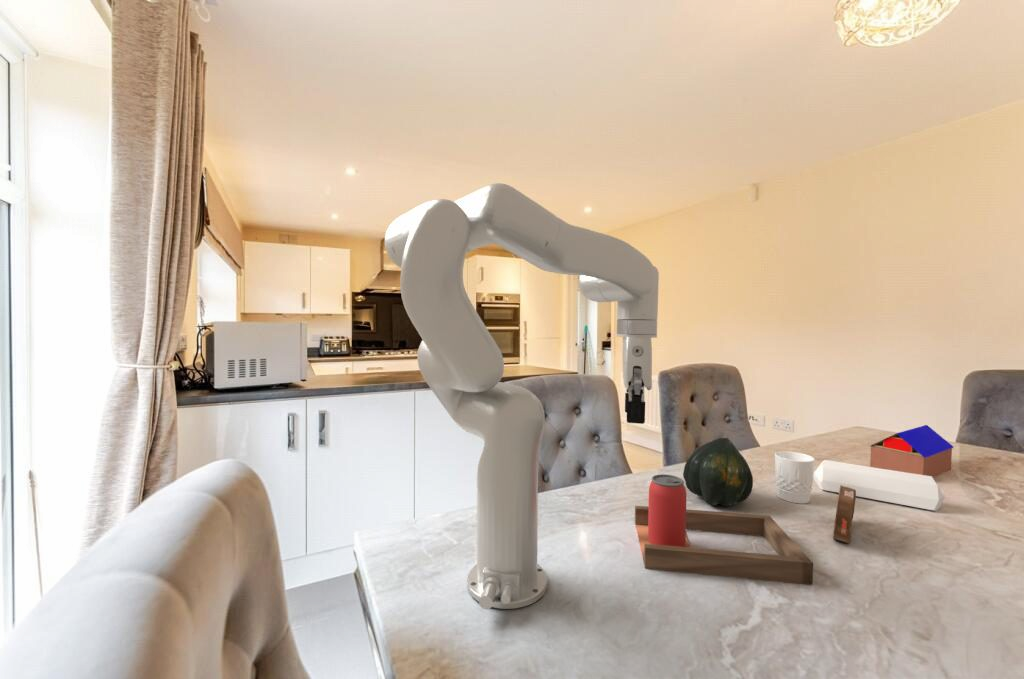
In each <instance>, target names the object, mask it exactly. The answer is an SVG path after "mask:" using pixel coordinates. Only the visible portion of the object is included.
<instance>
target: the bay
mask: <svg viewBox="0 0 1024 679" xmlns="http://www.w3.org/2000/svg"><path fill="white" fill-rule="evenodd" d="M648 509H649V505H648V506H647V505H634V525H636V526H635V529H636V534H638V535H637V539H638V538H639V539H638V543H639V547H641V548H640V552H641V557H642V556H643V557H642V560H643V566H644V565H645V566H644V568H645V569H648V568H651V570H658V569H659V570H658V571H669V572H670V571H671V572H682V573H689V574H690V573H691V574H700V575H709V576H710V575H712V576H720V577H721V576H722V577H732V578H742V579H753V580H761V581H762V580H763V581H771V582H772V581H773V582H780V583H781V582H782V583H792V584H801V585H812V586H813V579H814V575H813V574H814V562H813V561H812V560H811V559H810V558H809V557H808V556H807V555H806V554H805V553H804V551H803V550H802V549H801V548H800V547H799V546H798V545H797V544H796V543H795V541H794V540H792V539H791V537H790V536H789V535H788V533H786V532H785V531H784V530H783V529H782V528H781V526H780V525H779V524H778V523H777V522H776V521H775V520H774V519H773V518H772V517H771V515H768V514H765V515H764V514H754V513H753V514H752V513H740V512H738V513H737V512H726V511H712V510H699V509H687V508H686V529H688V530H687V531H696V530H700V531H699V532H708V531H711V533H720V532H723V534H733V535H734V534H735V535H736V534H737V535H744V536H745V535H748V536H758V537H759V536H760V537H764V538H765V540H766V541H767V543H769V545H770V546H771V547H772V548H773V550H774V551H775V552H776V554H770V553H769V554H767V553H755V552H748V551H747V552H746V551H745V552H744V551H733V550H723V549H710V548H699V547H692V546H691V544H690V542H689V539H688V538H687V536H686V544H685V546H684V547H679V546H668V545H657V544H651V543H650V541H649V539H648ZM689 529H690V530H689Z"/></svg>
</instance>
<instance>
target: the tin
mask: <svg viewBox="0 0 1024 679" xmlns="http://www.w3.org/2000/svg"><path fill="white" fill-rule="evenodd" d="M856 498H857V496H856V490H855V489H852V488H848V487H844V486H842V485H840V490H839V493H838V497H837V502H836V503H837V504H836V512H835V520H834V524H833V526H834V527H833V536H832V539H833V540H836V541H838V542H842V543H846V544H850V543H851V538H852V536H851V535H852V522H853V519H854V514H855V506H856Z"/></svg>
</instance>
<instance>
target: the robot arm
mask: <svg viewBox="0 0 1024 679" xmlns="http://www.w3.org/2000/svg"><path fill="white" fill-rule="evenodd" d="M385 232H386V233H385V235H384V248H385V251H386V254H387V256H388V258H389V259H390V260H391V261H392V262H393V264H395V266H397V267H398V268H400V269H401V270H400V280H399V281H400V283H399V284H400V285H399V286H400V293H401V300H402V304H403V306H404V309H405V312H406V314H407V316H408V317H409V319H410V321H411V323H412V325H413V327H414V328H415V330H416V331H417V333H418V335H419V336H420V337H421V339H422V340H421V342H420V344H419V346H418V350H417V359H416V360H417V364H418V365H417V366H418V368H419V371H420V374H421V376H422V377H423V379H424V382H426V385H428V386H429V389H430V390H431V391H432V392H433V394H434V395H435V396H436V398H437V399H438V401H439V402H440V404H441V405H442V406H443V408H444V409H445V411H446V412H447V413H448V415H449V416H450V417H451V419H452V420H453V422H455V423H456V425H458V426H459V427H460V428H461V429H462V430H464V431H465V432H467V433H469V434H471V435H474V436H476V437H478V438H480V439H482V440H483V441H484V446H483V449H482V452H481V455H480V457H479V460H478V461H479V462H478V464H477V471H476V564H475V565H474V566H473V567H471V569H470V570H469V572H468V574H467V580H466V582H467V583H466V584H467V585H466V586H467V590H468V593H469V595H471V597H472V598H473V599H475V600H476V601H477V602H479V605H480V607H481V608H482V609H484V610H489V609H492V608H494V609H502V610H503V609H504V610H509V609H510V610H512V609H519V608H520V609H521V608H523V607H527V606H529V605H531V604H534V603H536V602H537V601H538V600H539V599H541V598H542V597H543V596H544V595H545V593H546V591H547V589H548V575H547V573H546V570H544V568H543V567H542V566H541V565H540V564H539V563H538V532H539V531H538V522H539V520H538V519H539V518H538V517H539V515H538V514H539V513H538V511H539V510H538V509H539V508H538V507H539V505H538V504H539V503H538V502H539V501H538V499H539V498H538V497H539V495H538V494H539V492H538V491H539V459H540V457H539V456H540V449H541V443H542V440H543V434H544V429H545V423H546V420H545V419H546V417H545V410H544V406H543V404H542V402H541V400H540V399H539V398H538V397H537V396H536V394H534V393H533V392H532V391H531V390H529V389H527V388H525V387H523V386H520V385H516V384H511V383H506V382H502V381H501V379H502V378H503V375H504V371H505V361H504V357H503V354H502V352H501V350H500V348H499V346H498V343H496V341H495V339H494V337H493V336H492V334H491V333H490V332H489V330H488V328H487V326H486V325H485V323H484V322H483V319H482V318H481V316H480V315H479V313H478V312H477V310H476V309H475V307H474V305H473V303H472V302H471V300H470V297H469V295H468V293H467V291H466V289H465V285H464V284H465V283H464V265H465V262H466V261H465V260H466V258H467V253H470V252H472V251H474V250H477V249H479V248H483V247H487V246H490V245H496V246H499V247H500V248H502V249H503V250H505V251H507V252H509V253H511V254H513V255H514V256H516V257H518V258H520V259H522V260H524V261H525V262H528V263H529V264H531V265H533V266H534V267H536V268H538V269H540V270H542V271H544V272H549V273H554V274H559V275H561V274H562V275H567V276H568V275H569V276H570V275H571V276H579V278H578V288H579V290H580V292H581V294H582V295H583V296H584V297H585V298H586V299H588V300H590V301H592V302H596V303H597V302H598V303H611V302H612V303H613V302H614V303H615V302H617V304H616V305H617V308H616V311H617V312H616V337H618V338H619V337H621V338H622V378H623V384H624V385H623V386H624V388H625V389H626V392H625V393H624V394H625V395H624V396H625V397H624V412H625V413H626V423H628V424H642V425H643V424H645V423H646V401H645V388H646V390H647V391H651V390H652V389H653V386H652V385H653V382H652V381H653V380H652V379H653V378H652V376H653V375H652V372H653V371H652V370H653V346H652V345H653V344H652V343H653V342H652V338H653V339H654V338H656V339H657V338H658V337H657V336H658V315H659V314H658V310H659V307H658V306H659V279H660V277H659V276H660V275H659V269H658V268H657V267H656V266H655V265H653V263H652V262H651V261H650V259H649V258H648V257H647V255H645V254H644V253H642V252H641V251H639V250H638V249H637V248H635V247H634V246H633V245H631V244H630V243H628V242H626V241H625V240H622V239H620V238H618V237H615V236H612V235H609V234H605V233H602V232H598V231H594V230H591V229H589V228H584V227H582V226H581V227H580V226H575V225H573V224H569V223H568V222H566V221H564V220H563V219H562V218H560V217H559V216H557V215H556V214H554V213H552V212H551V211H549V210H548V209H546V208H545V207H544V206H542V205H541V204H539V203H538V202H536V201H534V200H533V199H532V198H530V197H528V196H527V195H525V194H524V193H522V192H521V191H520V190H518V189H516V188H515V187H513V186H511V185H508V184H506V183H503V182H502V183H500V182H499V183H492V184H489V185H486V186H483V187H482V188H479V189H477V190H475V191H473V192H471V193H469V194H467V195H465V196H463V197H461V198H458V199H456V200H450V199H447V198H446V199H445V198H439V199H438V198H437V199H434V200H429V201H426V202H424V203H422V204H419V205H418V206H416V207H414V208H413V209H411V210H409V211H408V212H406V213H404V214H402V215H400V216H399V217H397V218H396V219H395V220H393V221H392V222H391V224H390V225H389V226H388V227H387V230H386V231H385Z"/></svg>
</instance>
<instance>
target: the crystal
mask: <svg viewBox="0 0 1024 679" xmlns="http://www.w3.org/2000/svg"><path fill="white" fill-rule="evenodd" d="M813 481H814V482H815V483H816V484H817V486H818V487H819V488H820V490H822V491H826V492H831V493H832V492H833V493H838V494H839V490H840V485H842V486H844V487H848V488H852V489H855V490H856V497H858V498H864V499H871V500H876V501H881V502H886V503H892V504H897V505H903V506H908V507H913V508H918V509H924V510H928V511H934V512H936V511H938V510H939V509H940V507H942V504H943V502H944V500H945V496H944V494H943V492H942V490H941V489H940V488H939V485H938V484H937V483H936V481H935V479H934V477H932V476H926V475H919V474H913V473H906V472H900V471H893V470H887V469H880V468H874V467H870V466H867V465H861V464H860V465H859V464H855V463H854V464H853V463H849V462H848V463H846V462H841V461H834V460H827V459H824V460H823V461H821V463H820V464H819V465H818V467H817V468H816V470H814V474H813Z"/></svg>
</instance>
